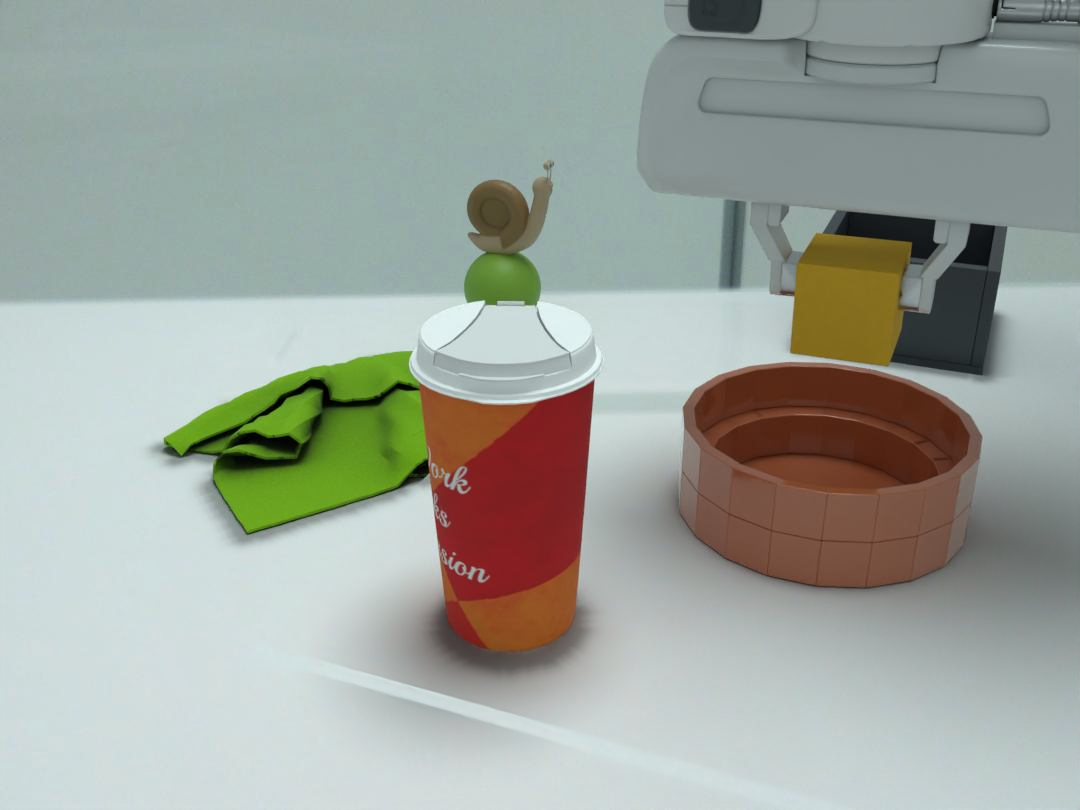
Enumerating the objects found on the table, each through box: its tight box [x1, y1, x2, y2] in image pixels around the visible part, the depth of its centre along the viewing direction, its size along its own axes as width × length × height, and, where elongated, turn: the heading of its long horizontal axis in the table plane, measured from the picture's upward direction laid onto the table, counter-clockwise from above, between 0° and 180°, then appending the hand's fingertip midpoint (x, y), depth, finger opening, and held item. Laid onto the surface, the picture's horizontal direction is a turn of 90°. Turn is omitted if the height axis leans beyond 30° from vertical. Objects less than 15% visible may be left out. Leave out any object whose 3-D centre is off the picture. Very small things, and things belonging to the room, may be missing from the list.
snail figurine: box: [463, 159, 555, 308], centre depth 80 cm, size 5×6×12 cm
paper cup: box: [409, 300, 605, 652], centre depth 48 cm, size 8×8×14 cm
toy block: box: [789, 232, 912, 367], centre depth 54 cm, size 4×4×4 cm
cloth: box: [163, 350, 430, 534], centre depth 67 cm, size 20×22×2 cm
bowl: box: [677, 361, 984, 588], centre depth 58 cm, size 14×14×6 cm
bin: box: [822, 210, 1008, 376], centre depth 80 cm, size 12×12×7 cm
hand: (848, 300), depth 54 cm, fingers closed on toy block, 4 cm apart
